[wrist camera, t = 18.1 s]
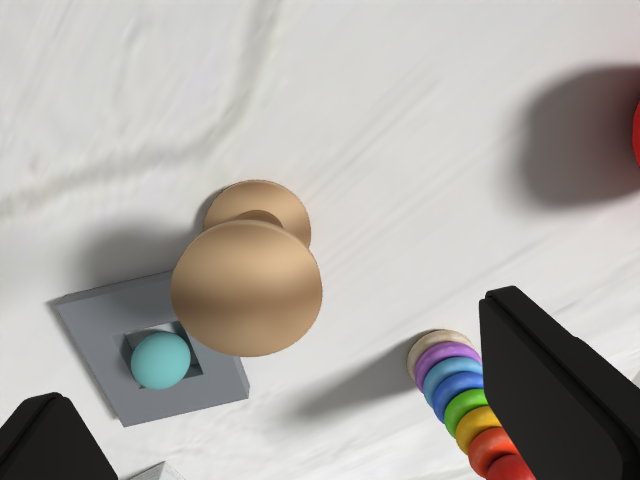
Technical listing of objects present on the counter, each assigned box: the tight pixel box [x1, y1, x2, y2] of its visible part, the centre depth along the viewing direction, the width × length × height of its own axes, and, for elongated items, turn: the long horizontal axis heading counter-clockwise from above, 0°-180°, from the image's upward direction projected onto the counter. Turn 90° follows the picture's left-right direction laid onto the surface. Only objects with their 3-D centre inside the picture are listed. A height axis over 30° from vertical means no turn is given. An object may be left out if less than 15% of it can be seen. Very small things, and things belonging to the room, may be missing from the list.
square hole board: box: [55, 270, 250, 427], centre depth 40 cm, size 16×14×2 cm
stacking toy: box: [407, 330, 536, 480], centre depth 36 cm, size 8×8×19 cm
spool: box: [170, 180, 322, 357], centre depth 31 cm, size 10×10×12 cm
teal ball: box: [131, 332, 190, 390], centre depth 38 cm, size 6×6×6 cm
